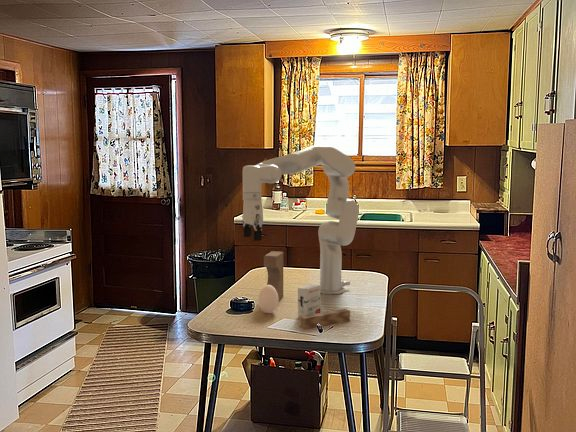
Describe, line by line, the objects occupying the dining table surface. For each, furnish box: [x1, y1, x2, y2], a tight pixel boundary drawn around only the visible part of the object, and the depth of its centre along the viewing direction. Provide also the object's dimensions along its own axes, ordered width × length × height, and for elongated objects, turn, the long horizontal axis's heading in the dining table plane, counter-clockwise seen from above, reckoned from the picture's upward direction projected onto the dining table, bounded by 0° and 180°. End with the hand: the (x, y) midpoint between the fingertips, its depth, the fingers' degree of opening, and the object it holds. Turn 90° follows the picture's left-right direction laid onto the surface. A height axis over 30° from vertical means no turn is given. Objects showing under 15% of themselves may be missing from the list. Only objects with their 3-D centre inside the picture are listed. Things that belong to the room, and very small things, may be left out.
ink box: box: [297, 283, 321, 318], centre depth 234 cm, size 8×5×12 cm, turn 140°
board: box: [299, 308, 351, 330], centre depth 224 cm, size 20×3×4 cm, turn 120°
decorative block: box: [263, 250, 284, 301], centre depth 256 cm, size 11×6×20 cm, turn 163°
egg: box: [257, 284, 280, 314], centre depth 237 cm, size 8×8×11 cm
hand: (252, 238), depth 244 cm, fingers open, 9 cm apart
